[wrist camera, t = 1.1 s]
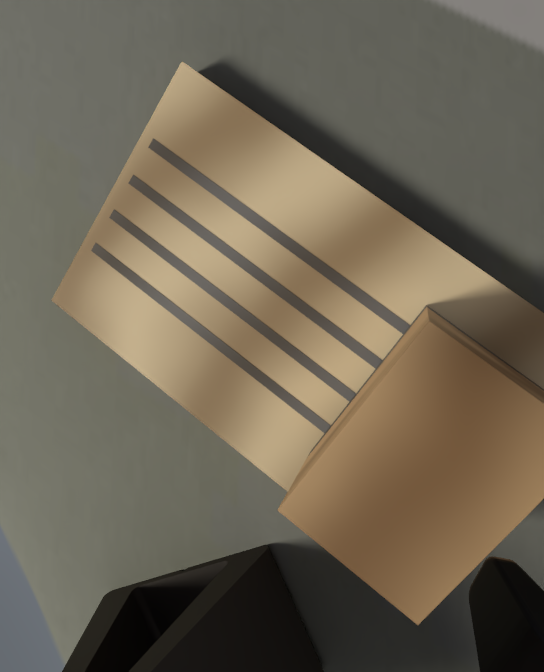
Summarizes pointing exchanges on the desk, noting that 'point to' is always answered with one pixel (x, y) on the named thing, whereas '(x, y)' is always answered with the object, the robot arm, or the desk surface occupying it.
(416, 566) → the block
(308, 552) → the desk surface
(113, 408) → the desk surface
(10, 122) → the desk surface
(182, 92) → the pine board
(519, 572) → the robot arm
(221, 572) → the phone stand
